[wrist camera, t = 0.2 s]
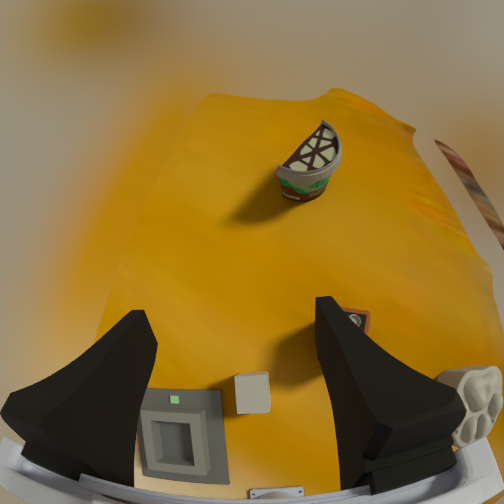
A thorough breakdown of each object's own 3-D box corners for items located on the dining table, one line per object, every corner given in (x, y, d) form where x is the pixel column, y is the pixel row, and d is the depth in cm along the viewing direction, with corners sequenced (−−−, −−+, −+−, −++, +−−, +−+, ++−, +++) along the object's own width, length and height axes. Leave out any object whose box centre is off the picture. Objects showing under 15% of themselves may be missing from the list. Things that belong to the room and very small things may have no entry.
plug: (270, 403, 38) (269, 412, 32) (243, 405, 38) (237, 413, 32) (268, 370, 39) (266, 374, 34) (240, 372, 40) (234, 376, 34)
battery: (316, 360, 39) (328, 363, 30) (325, 314, 41) (338, 304, 32) (345, 364, 39) (364, 368, 29) (353, 319, 41) (374, 310, 31)
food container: (307, 223, 46) (313, 191, 37) (277, 202, 48) (275, 167, 38) (347, 173, 48) (358, 136, 39) (318, 155, 50) (324, 117, 41)
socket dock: (229, 483, 34) (225, 492, 30) (145, 474, 35) (136, 482, 31) (221, 389, 39) (215, 393, 36) (134, 386, 40) (124, 389, 37)
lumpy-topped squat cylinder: (479, 363, 35) (510, 362, 27) (471, 434, 31) (499, 443, 23) (433, 371, 36) (462, 373, 28) (424, 446, 32) (449, 461, 24)
